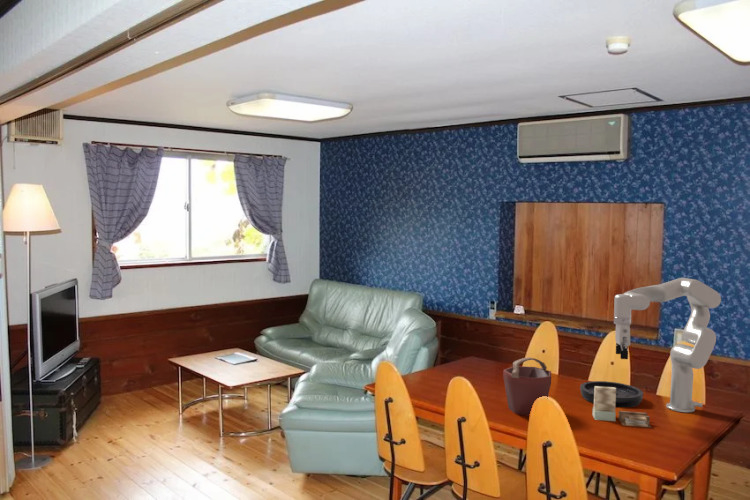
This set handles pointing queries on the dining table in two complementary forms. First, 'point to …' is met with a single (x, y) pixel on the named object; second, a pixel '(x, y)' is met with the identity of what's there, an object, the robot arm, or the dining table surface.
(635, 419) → the offcut stack
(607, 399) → the birch board
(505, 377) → the bucket
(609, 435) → the dining table surface
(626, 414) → the rack
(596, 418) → the slotted stand
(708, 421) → the dining table surface
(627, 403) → the round tray
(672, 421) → the dining table surface
